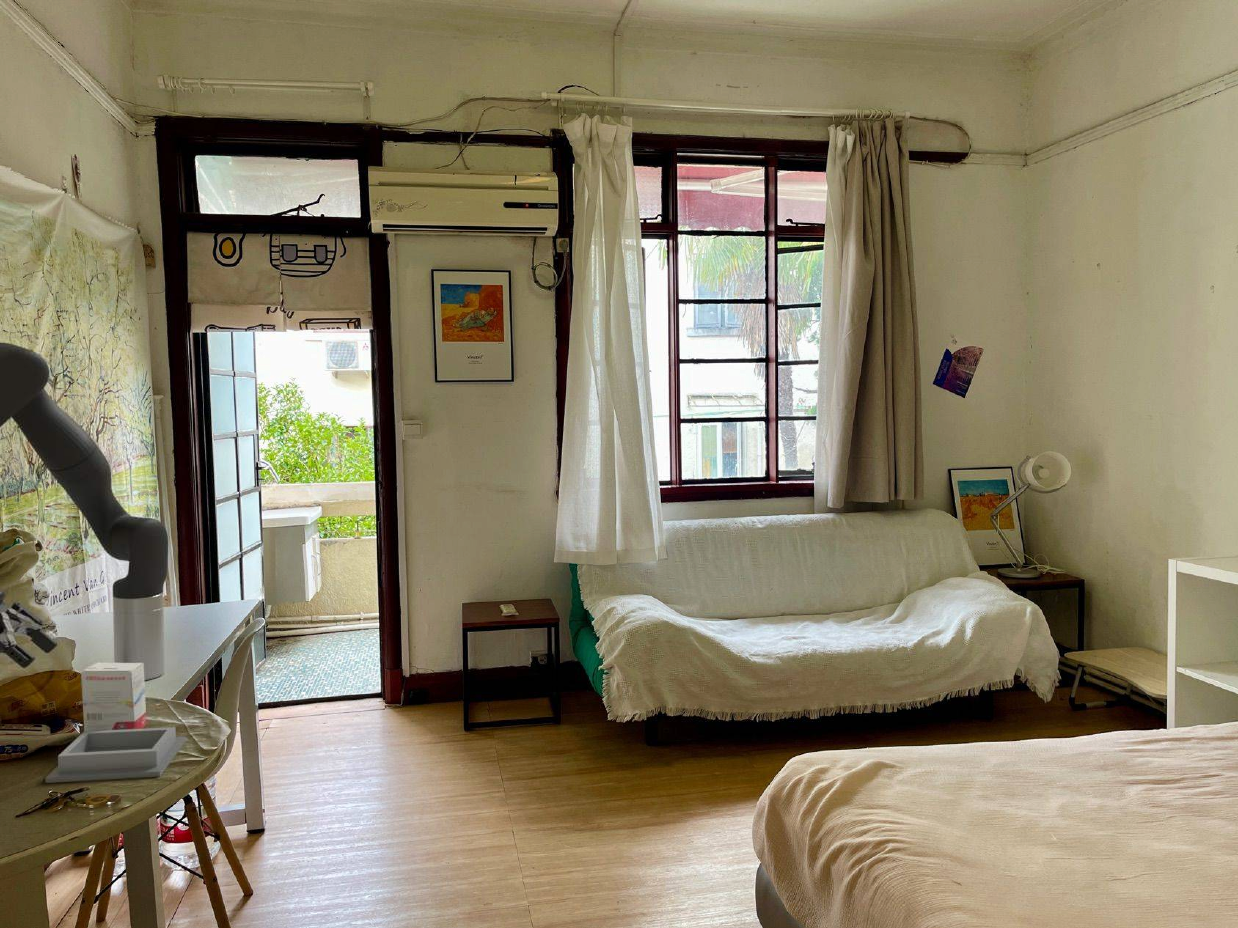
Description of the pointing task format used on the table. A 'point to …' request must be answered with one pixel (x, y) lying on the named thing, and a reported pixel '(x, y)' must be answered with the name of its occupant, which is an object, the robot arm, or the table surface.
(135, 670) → the ink box
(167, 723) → the table surface
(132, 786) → the table surface
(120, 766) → the tray
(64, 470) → the robot arm
